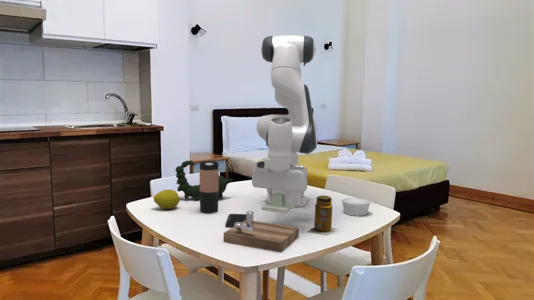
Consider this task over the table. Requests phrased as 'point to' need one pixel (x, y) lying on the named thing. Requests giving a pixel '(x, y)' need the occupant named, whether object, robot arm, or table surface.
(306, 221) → the table surface
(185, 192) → the toy figurine
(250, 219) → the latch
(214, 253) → the table surface
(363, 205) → the ramekin
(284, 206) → the cover
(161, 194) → the lemon
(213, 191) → the travel mug
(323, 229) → the condiment
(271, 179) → the robot arm
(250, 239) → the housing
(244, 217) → the phone
